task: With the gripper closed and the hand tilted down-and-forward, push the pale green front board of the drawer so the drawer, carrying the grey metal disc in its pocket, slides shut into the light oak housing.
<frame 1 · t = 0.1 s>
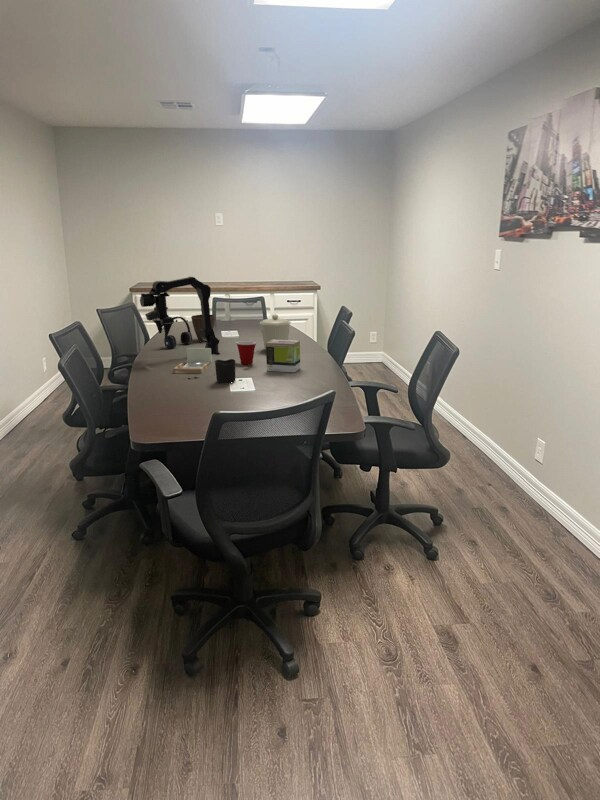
hand: (163, 334, 297), 15 cm above the table, tool pointing down, fingers open, 9 cm apart
housing: (191, 372, 276), on the table
drawer: (195, 358, 284), point 5 cm above the table, slide at 8.0 cm, touching disc
headphones: (178, 346, 339), on the table
tea box: (283, 370, 279), on the table
canister: (275, 350, 325), on the table
disc: (196, 365, 284), point 1 cm above the table, touching drawer
plastic cup: (247, 364, 292), on the table
plant pot: (204, 341, 354), on the table
pen holder: (226, 382, 258), on the table
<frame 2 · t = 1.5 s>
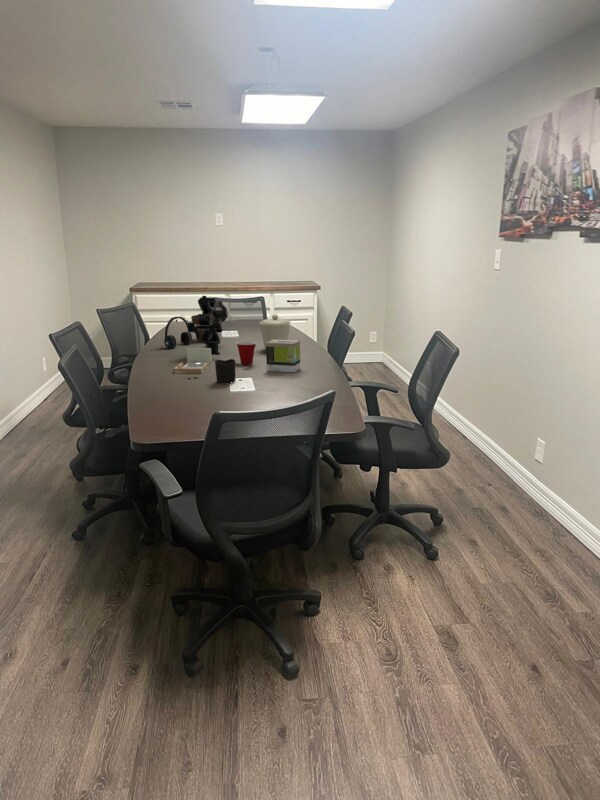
hand: (202, 340, 296), 12 cm above the table, tool tilted 45°, fingers open, 6 cm apart
nothing on the table moved.
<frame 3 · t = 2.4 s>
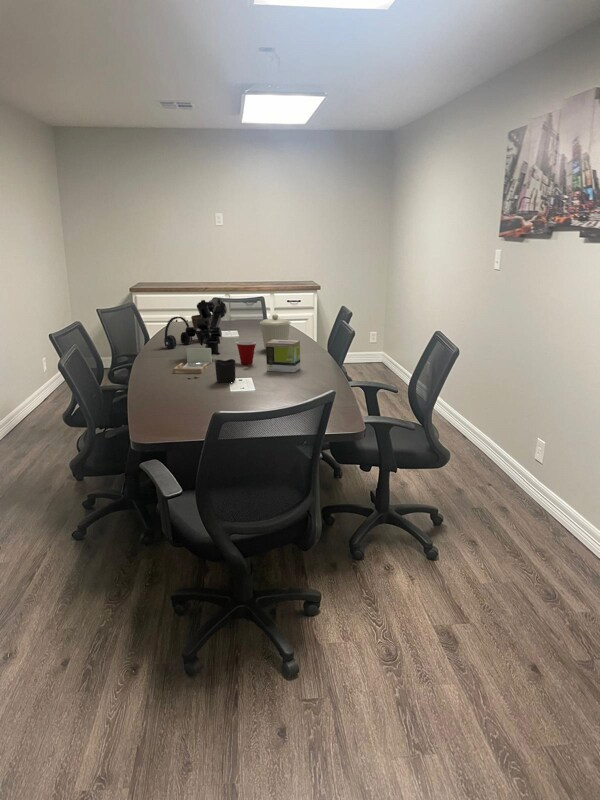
hand: (201, 344, 293), 10 cm above the table, tool tilted 45°, fingers closed
nothing on the table moved.
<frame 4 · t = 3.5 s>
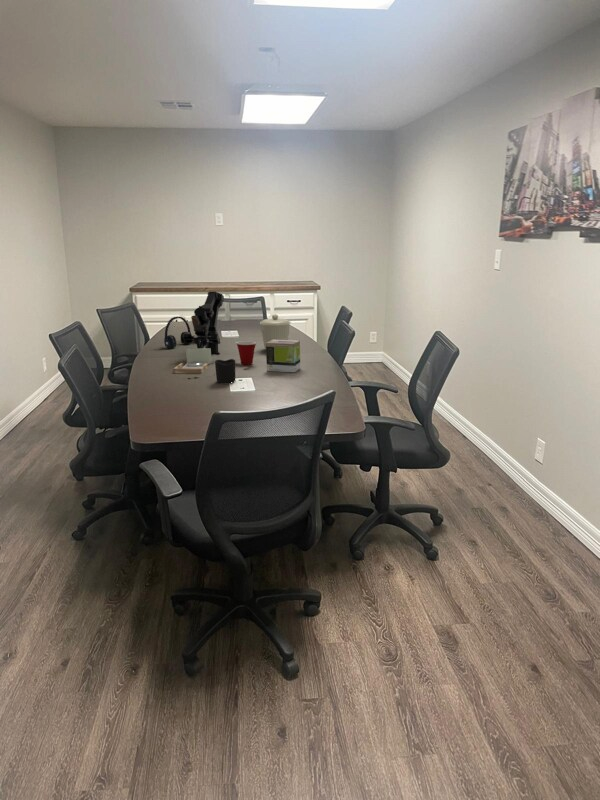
hand: (198, 351, 289), 7 cm above the table, tool tilted 45°, fingers closed, pressing on drawer
drawer: (195, 359, 283), point 5 cm above the table, slide at 7.1 cm, touching disc, gripper
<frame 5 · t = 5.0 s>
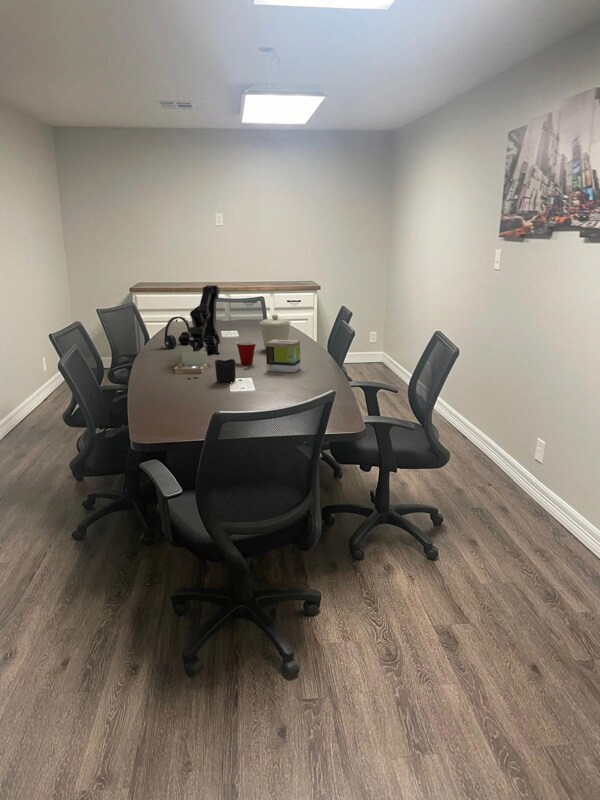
hand: (194, 354, 282), 7 cm above the table, tool tilted 45°, fingers closed, pressing on drawer
drawer: (191, 362, 276), point 5 cm above the table, slide at -0.1 cm, touching disc, gripper
disc: (191, 369, 276), point 1 cm above the table, touching drawer
everything else where it was.
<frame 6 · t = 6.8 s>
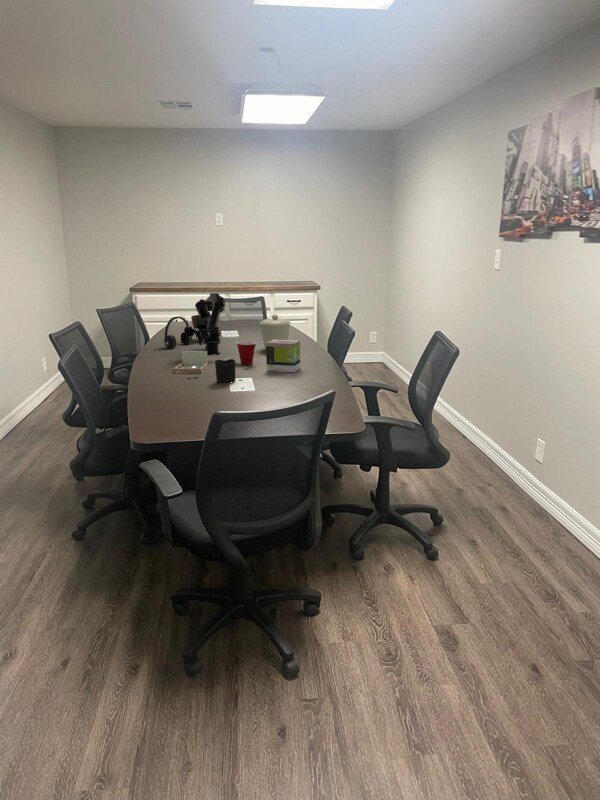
hand: (200, 344, 291), 10 cm above the table, tool tilted 45°, fingers closed
drawer: (191, 362, 276), point 5 cm above the table, slide at 0.0 cm, touching disc
everything else where it was.
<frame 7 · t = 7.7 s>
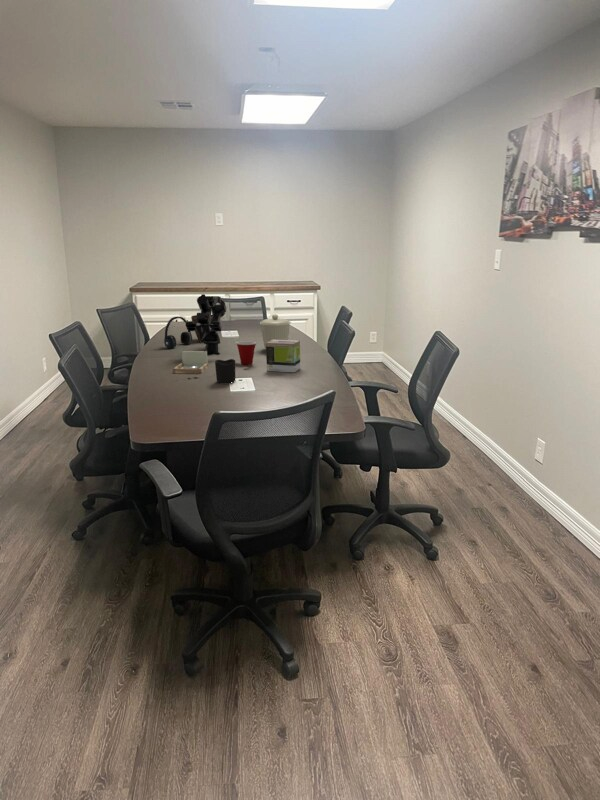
hand: (201, 339, 293), 13 cm above the table, tool tilted 45°, fingers closed
nothing on the table moved.
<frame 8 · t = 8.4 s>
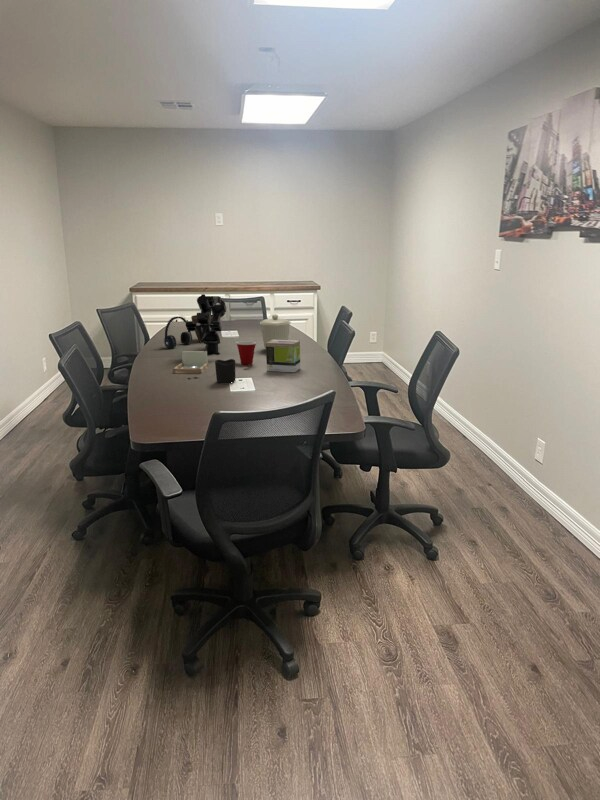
hand: (201, 339, 293), 13 cm above the table, tool tilted 45°, fingers closed
nothing on the table moved.
at the end: drawer slide at 0.0 cm; disc inside the target area on the housing (0.6 cm from its centre), point 1.2 cm above the housing's base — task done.
